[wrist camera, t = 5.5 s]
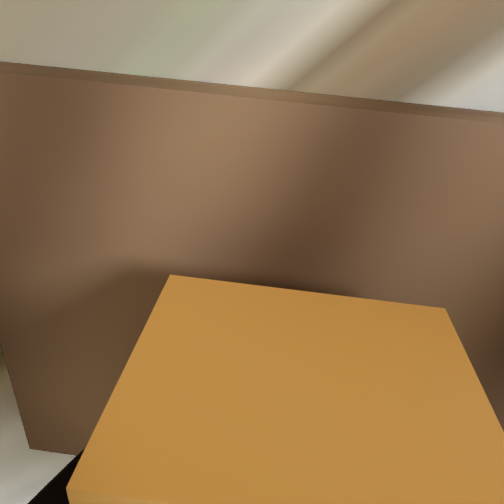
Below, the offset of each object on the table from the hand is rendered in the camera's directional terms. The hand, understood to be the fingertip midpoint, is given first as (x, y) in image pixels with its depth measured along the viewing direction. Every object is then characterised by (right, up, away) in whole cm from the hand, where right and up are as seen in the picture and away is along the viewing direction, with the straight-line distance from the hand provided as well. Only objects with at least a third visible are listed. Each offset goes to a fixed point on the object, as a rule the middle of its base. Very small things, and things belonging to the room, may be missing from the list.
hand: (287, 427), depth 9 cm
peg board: (0, +2, +3) cm, 4 cm away
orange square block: (0, +1, +1) cm, 1 cm away
